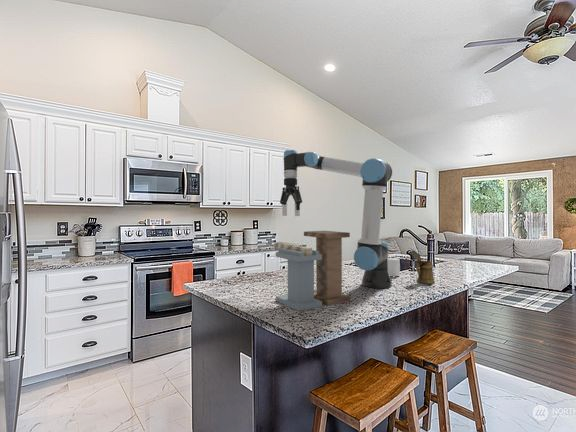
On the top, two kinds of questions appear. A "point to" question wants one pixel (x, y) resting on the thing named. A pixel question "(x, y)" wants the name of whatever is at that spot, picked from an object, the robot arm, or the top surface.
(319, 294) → the tall bracket
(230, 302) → the top surface
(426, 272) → the wooden mug
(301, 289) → the low bracket
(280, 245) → the rail
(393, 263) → the cup
